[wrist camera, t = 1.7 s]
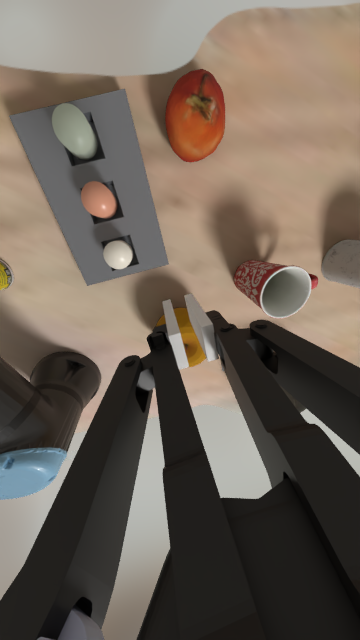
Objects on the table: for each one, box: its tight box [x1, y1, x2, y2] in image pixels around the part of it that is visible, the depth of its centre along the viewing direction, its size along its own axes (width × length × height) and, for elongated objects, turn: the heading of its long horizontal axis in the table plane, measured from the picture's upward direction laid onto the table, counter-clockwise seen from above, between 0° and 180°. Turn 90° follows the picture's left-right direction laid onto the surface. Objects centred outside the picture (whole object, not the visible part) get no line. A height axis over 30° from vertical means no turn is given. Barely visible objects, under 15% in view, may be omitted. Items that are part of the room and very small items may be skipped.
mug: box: [234, 260, 318, 318], centre depth 37 cm, size 13×9×14 cm
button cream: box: [103, 240, 133, 269], centre depth 33 cm, size 4×4×4 cm
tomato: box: [165, 69, 225, 162], centre depth 28 cm, size 9×9×8 cm
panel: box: [9, 89, 169, 286], centre depth 32 cm, size 16×24×4 cm, turn 13°
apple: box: [156, 307, 206, 367], centre depth 41 cm, size 13×13×11 cm
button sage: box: [52, 103, 97, 160], centre depth 26 cm, size 4×4×4 cm
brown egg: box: [81, 181, 117, 219], centre depth 29 cm, size 4×4×4 cm
